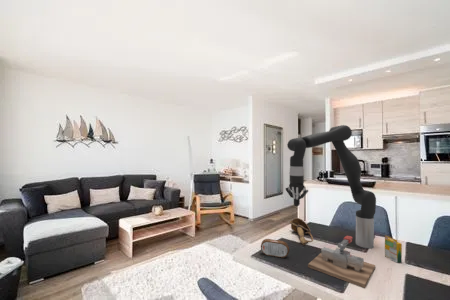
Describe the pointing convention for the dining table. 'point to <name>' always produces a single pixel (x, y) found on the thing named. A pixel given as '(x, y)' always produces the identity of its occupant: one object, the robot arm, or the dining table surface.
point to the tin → (275, 248)
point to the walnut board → (343, 271)
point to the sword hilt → (301, 229)
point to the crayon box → (393, 249)
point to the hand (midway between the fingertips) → (296, 205)
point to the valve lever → (344, 243)
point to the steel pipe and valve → (342, 258)
